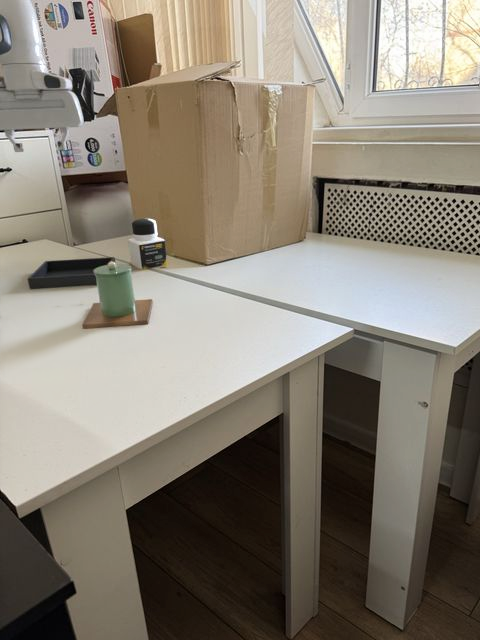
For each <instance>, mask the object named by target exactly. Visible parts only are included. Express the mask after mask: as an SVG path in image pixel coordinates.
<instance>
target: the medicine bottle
mask: <svg viewBox="0 0 480 640" xmlns="http://www.w3.org/2000/svg"><path fill="white" fill-rule="evenodd" d="M157 225H158V224H157V221H156V220H155V219H153V218H138V219H135V220H134V221H132V223H131V228H132V229H131V230H132V234H133V237H132V238H128V239H127V243H128V250H129V256H130V264H131V266H134V267H136V268H137V269H140V270H148V269H153V268H160V269H162V268H166V267H167V268H168V258H167V249H166V240H165V239H164V238H162V237H159V236H158V226H157Z"/></svg>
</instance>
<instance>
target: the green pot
mask: <svg viewBox="0 0 480 640" xmlns="http://www.w3.org/2000/svg"><path fill="white" fill-rule="evenodd" d="M132 269H133V268H132V265H130V264H126V263H116V261H115V262H112V261H111V262H109V263H108V265H104V266H100V267H98V268H96V269H94V271H93V272H94V275H95V277H96V283H97V285H96V288H97V292H98V293H97V294H98V299H99V303H100V305H101V311H102V314H103V315H104V316H107V317H122V316H126V315H129V314H132V313H134V312H135V311H136V304H135V300H136V297H135V290H134V284H133V277H132Z"/></svg>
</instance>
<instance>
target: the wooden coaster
mask: <svg viewBox="0 0 480 640" xmlns="http://www.w3.org/2000/svg"><path fill="white" fill-rule="evenodd" d="M153 300H154V299H153V298H150V299H135V304H136V311H135V312H134V313H132V314H129V315H126V316H122V317H107V316H104V315H103V314H102V311H101V305H100V302H93V303H92V305H91V307H90V310H89V311H88V313H87V315H86V317H85V318H84V321H83V322H82V324H81V326H82V329H95V328H97V329H98V328H110V327H124V326H125V327H126V326H138V325H139V326H140V325H148V324H149V321H150V316H151V312H152V308H153V304H154V301H153Z"/></svg>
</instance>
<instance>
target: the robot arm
mask: <svg viewBox="0 0 480 640" xmlns="http://www.w3.org/2000/svg"><path fill="white" fill-rule="evenodd" d="M42 47H43V40H42V35H41V31H40V26H39V21H38V18H37V14H36V11H35V8H34V5H33V2H32V1H31V0H0V67H1V71H2V77H3V81H0V131H4V135H5V137H6V138H7V140H9V142H10V143H11V144H12V146H13V150H14V153H23V152H25V151H24V146H23V142H18V141H17V139H16V137H15V135H16V133H15V130H35V129H59V131H60V134H62V137H61V140H60V141H57V143H56V144H57V146H58V147H57V149H58V151H67V150H68V146H67V141H68V138H69V135H70V129H69V128H81V127H83V125H84V122H85V121H84V113H83V110H82V107H81V103H80V100H79V98H78V96H77V95H76V94H75V92H73V91H71V90H73V82H72V80H71V79H69V78H67V77H64V76H60V75H58V74H57V73H53V72H51V73H50V72H49V71H48V68H47V62H46V60H45V58H44V55H43V50H42V49H43V48H42Z"/></svg>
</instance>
